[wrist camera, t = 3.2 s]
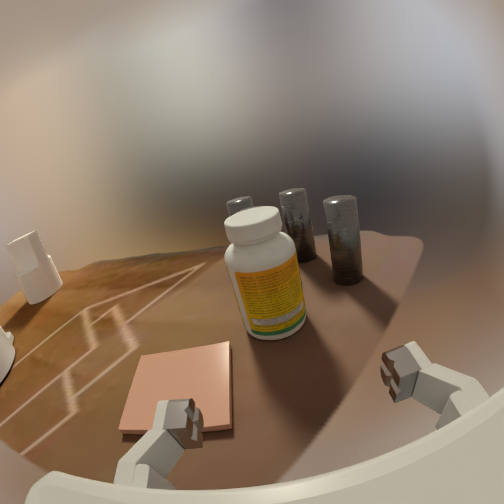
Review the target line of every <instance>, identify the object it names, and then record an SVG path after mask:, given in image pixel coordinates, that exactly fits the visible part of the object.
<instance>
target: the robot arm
mask: <svg viewBox="0 0 504 504" xmlns="http://www.w3.org/2000/svg"><path fill="white" fill-rule="evenodd" d="M13 340H14V336H13V335H12V334H11V332H6V333H5V332H4V330H3V329H2V327H1V326H0V383H1V381H2V380H3V379H4V377H5V376H6V374H7V373H8V371H9V369H10V367H11V365H12V363H13V360H14V356H15V349H14V347H13ZM382 361H383V364H382V365H381V377H382V379H383V382H384V384H385V385H386V386H388V387H390V390H389V394H390V395H391V397H392V399H393V401H394V403H397V402H399V401H402V400H404V399H407V398H409V397H412V398H414V399H415V400H417V401H419V402H420V403H422V404H424V405H425V406H427V407H429V408H430V409H432V410H434V411H436V412H437V413H439V414H441V416H440V419H439V420H438V422H437V424H436V428H437V430H436V431H434V432H432V433H430V434H428V435H427V436H424V437H422V438H420V439H418V440H416V441H414V442H412V443H410V444H407V445H405V446H403V447H400V448H398V449H396V450H393V451H391V452H388V453H386V454H383V455H381V456H378V457H376V458H373V459H370V460H367V461H364V462H361V463H358V464H355V465H352V466H349V467H346V468H343V469H339V470H336V471H332V472H328V473H324V474H320V475H316V476H312V477H308V478H303V479H298V480H293V481H288V482H282V483H276V484H270V485H263V486H255V487H246V488H235V489H220V490H175V486H174V485H173V484H172V483H171V482H169V481H168V480H167V479H165V478H166V477H167V475H168V474H169V472H170V471H171V470H172V468H173V467H174V465H175V464H176V462H177V461H178V459H179V458H180V456H181V455H182V454H183V452H184V451H185V450H184V449H195V448H202V447H203V435H202V434H201V432H200V431H201V430H202V429H203V428H204V420H203V415H202V413H201V411H200V409H199V408H197V407H195V401H194V400H193V399H192V398H189V399H175V400H160V401H159V402H158V403H157V407H156V412H155V416H154V421H153V426H152V430H148V431H147V432H146V433H145V435H144V436H143V437H142V438H141V439H140V440H139V441H138V442H137V443H136V444H135V445H134V446H133V447H132V448H131V449H130V450H129V451H128V452H127V453H126V454H125V455H124V456H123V457H122V458H121V459H120V460H119V461H118V466H117V470H116V475H115V479H114V484H111V483H106V482H100V481H95V480H90V479H86V478H81V477H77V476H73V475H69V474H66V473H62V472H59V471H52V472H50V473H48V474H47V475H45V476H44V477H43V478H41V479H40V480H39V481H37V482H36V483H35V484H34V485H33V486H32V487H31V489H30V491H29V493H28V495H27V498H26V501H25V503H24V504H504V387H503V388H502V389H501V390H499V391H498V392H497V393H495V394H494V395H493V396H492V397H489V396H488V394H487V393H486V392H485V390H484V389H483V387H482V386H481V385H480V383H479V382H478V381H477V380H476V379H475V378H472V377H469V376H467V375H464V374H462V373H459V372H456V371H454V370H451V369H449V368H446V367H443V366H441V365H438V364H436V363H434V364H432V363H431V362H430V361H429V359H428V358H427V357H426V355H425V354H424V353H423V351H422V350H421V349H420V347H419V346H418V345H417V343H416V342H414V341H412V342H410V343H407V344H405V345H402V346H399V347H397V348H394V349H392V350H389V351H387V352H384V353H383V354H382Z"/></svg>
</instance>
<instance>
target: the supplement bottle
mask: <svg viewBox="0 0 504 504" xmlns="http://www.w3.org/2000/svg"><path fill="white" fill-rule="evenodd" d="M224 225H225V229H226V233H227V238H228V239H229V241H230V242H231V243H232V244H231V245H230V246H229V247H228V249H227V250H226V253H225V264H226V267H227V271H228V274H229V277H230V281H231V284H232V287H233V290H234V294H235V297H236V300H237V304H238V307H239V310H240V313H241V317H242V320H243V323H244V326H245V328H246V330H247V331H248V333H249V334H250V335H252V336H253V337H255V338H258V339H262V340H278V339H283V338H286V337H288V336H290V335H292V334H294V333H295V332H296V331H298V330H299V329H300V328H301V327H302V325H303V324H304V322H305V319H306V309H305V302H304V295H303V289H302V282H301V277H300V271H299V265H298V259H297V253H296V248H295V244H294V241H293V240H292V238H291V237H290V236H288V235H287V234H285V233H283V232H280V231H281V227H282V221H281V217H280V213H279V210H278V209H277V208H275V207H270V206H265V207H256V208H251V209H247V210H244V211H241V212H238V213H236V214H234V215H232V216H230V217H229V218H227V219H226V220H225V222H224Z"/></svg>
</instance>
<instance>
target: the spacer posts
mask: <svg viewBox="0 0 504 504" xmlns="http://www.w3.org/2000/svg"><path fill="white" fill-rule="evenodd" d="M279 197H280V202H281V207H282V212H283V216H284V221H285V226H286V231H287V235H288V236H290V237H291V238H292V240H293V241H294V244H295V248H296V253H297V259H298V262H308V261H311V260H313V259H314V258H315V257H316V248H315V242H314V235H313V229H312V224H311V218H310V212H309V206H308V201H307V195H306V190H305V189H304V188H295V189H289V190H286V191H283V192H281V193H279ZM323 203H324V210H325V216H326V223H327V230H328V237H329V245H330V253H331V261H332V269H333V278H334V281H335V282H336V283H337V284H340V285H353V284H356V283H358V282H360V281H361V280H362V278H363V272H362V256H361V242H360V231H359V221H358V212H357V203H356V197H354V196H351V195H339V196H333V197H330V198H327V199H325V200H324V201H323ZM226 205H227V209H228V212H229V216H232V215H234V214H236V213H238V212H241V211H244V210H247V209H251V208H256V207H264V206H254V207H253V203H252V198H251V197H249V196H246V197H240V198H236V199H233V200H230V201H229V202H227V203H226Z"/></svg>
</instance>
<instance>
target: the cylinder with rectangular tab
mask: <svg viewBox="0 0 504 504" xmlns="http://www.w3.org/2000/svg"><path fill="white" fill-rule="evenodd" d="M7 248H8V251H9V253H10V256H11V258H12V260H13V263H14V265H15V267H16V270H17V272H18V273H17V274H16V275H15V277H16V279H17V281H18V283H19V285H20V287H21V289H22V291H23V293H24V295H25V297H26V299H27V301H28V303H29V304H36V303H39V302H41V301H43V300H45V299H46V298H48V297H50V296H51V295H52V294H54V293H55V292H56V291H57V290H58V289H59V288H60V287H61V286H62V283H63V282H62V280H61V278H60V276H59V274H58V272H57V269H56V267H55V265H54V263H53V261H52V258H51V256H50V255H47V253H46V251H45V249H44V246H43V244H42V241H41V238H40V236H39V233H38V231H37V230H35V231H33V232H31V233H28V234H27V235H24V236H22V237H20V238H18V239H16V240H14V241H12V242H11V243H9V244H8V245H7Z"/></svg>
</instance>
